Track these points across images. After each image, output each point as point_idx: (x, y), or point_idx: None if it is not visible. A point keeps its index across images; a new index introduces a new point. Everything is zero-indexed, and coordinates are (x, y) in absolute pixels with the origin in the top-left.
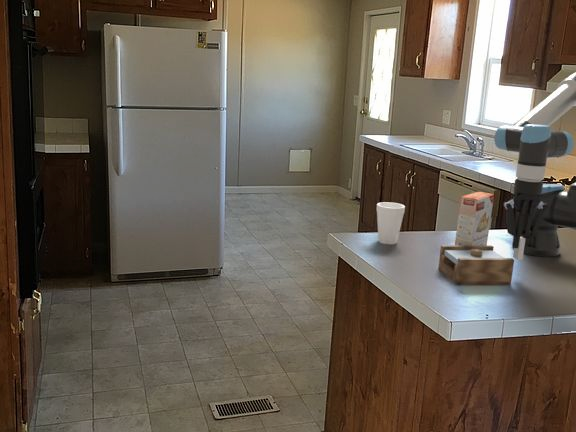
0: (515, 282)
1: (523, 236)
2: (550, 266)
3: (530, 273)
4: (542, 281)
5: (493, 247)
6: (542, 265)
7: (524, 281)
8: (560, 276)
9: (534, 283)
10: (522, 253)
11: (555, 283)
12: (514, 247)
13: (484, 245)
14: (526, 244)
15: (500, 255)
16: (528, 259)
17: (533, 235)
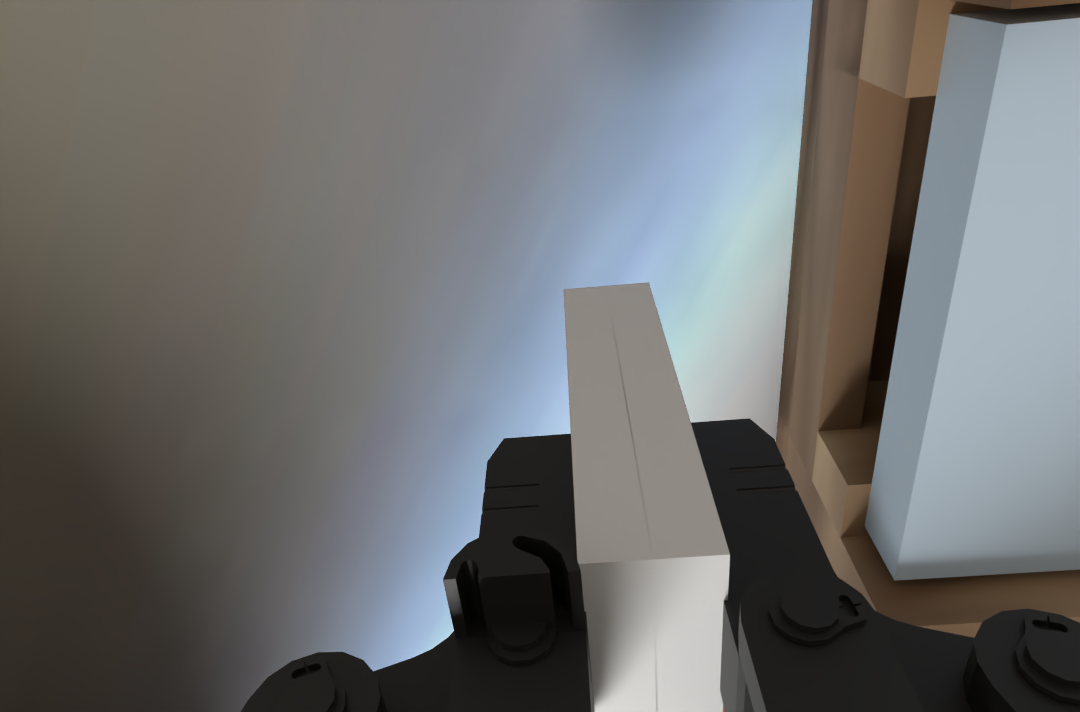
0: (687, 30)
1: (590, 667)
2: (79, 571)
3: (354, 370)
4: (298, 106)
5: None
6: (153, 588)
7: (542, 83)
8: (27, 306)
9: (435, 11)
10: (582, 343)
11: (142, 39)
12: (753, 441)
13: None
14: (498, 491)
15: (942, 352)
16: None
17: (316, 664)
